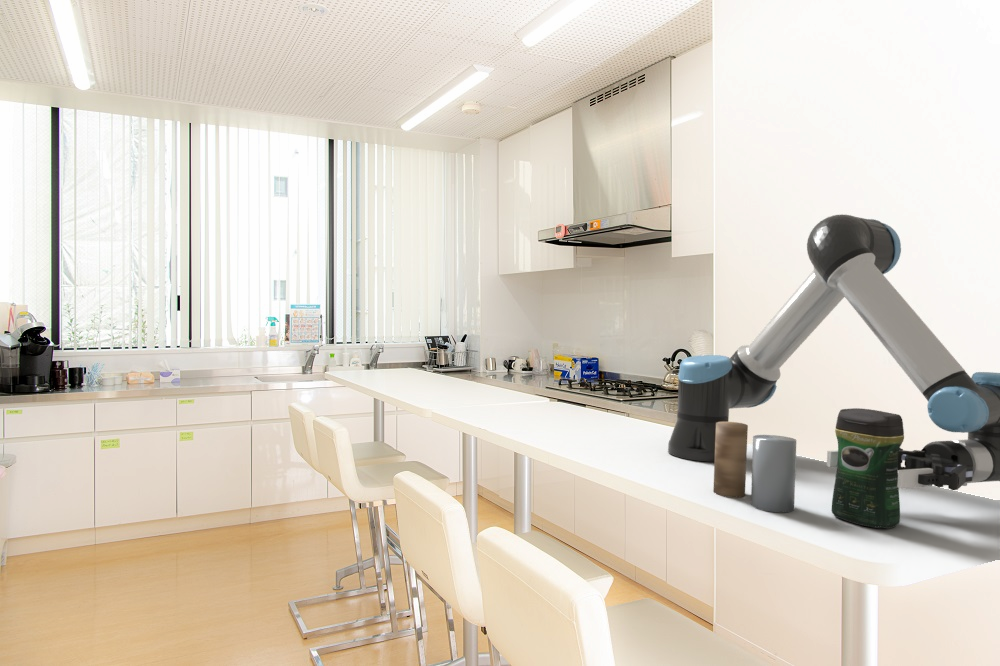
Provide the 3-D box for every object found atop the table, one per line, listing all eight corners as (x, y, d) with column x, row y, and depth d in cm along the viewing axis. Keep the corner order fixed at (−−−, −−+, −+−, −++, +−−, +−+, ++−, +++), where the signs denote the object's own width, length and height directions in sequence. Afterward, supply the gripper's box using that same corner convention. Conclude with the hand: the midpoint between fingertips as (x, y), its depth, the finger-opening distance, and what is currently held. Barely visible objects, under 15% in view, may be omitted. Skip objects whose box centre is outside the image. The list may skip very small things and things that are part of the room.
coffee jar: (907, 526, 106) (914, 412, 105) (880, 533, 102) (887, 415, 101) (849, 509, 114) (855, 404, 114) (822, 515, 110) (828, 406, 109)
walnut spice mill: (707, 490, 124) (709, 422, 123) (731, 488, 126) (734, 421, 125) (726, 498, 118) (729, 427, 118) (751, 496, 120) (754, 426, 120)
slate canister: (742, 502, 116) (744, 435, 116) (773, 499, 119) (775, 434, 118) (771, 514, 110) (773, 443, 109) (803, 510, 112) (805, 441, 112)
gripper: (1030, 504, 102) (933, 514, 95) (888, 466, 126) (802, 472, 119) (1034, 457, 102) (936, 464, 95) (891, 427, 126) (804, 431, 119)
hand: (862, 468), depth 107 cm, fingers open, 13 cm apart
